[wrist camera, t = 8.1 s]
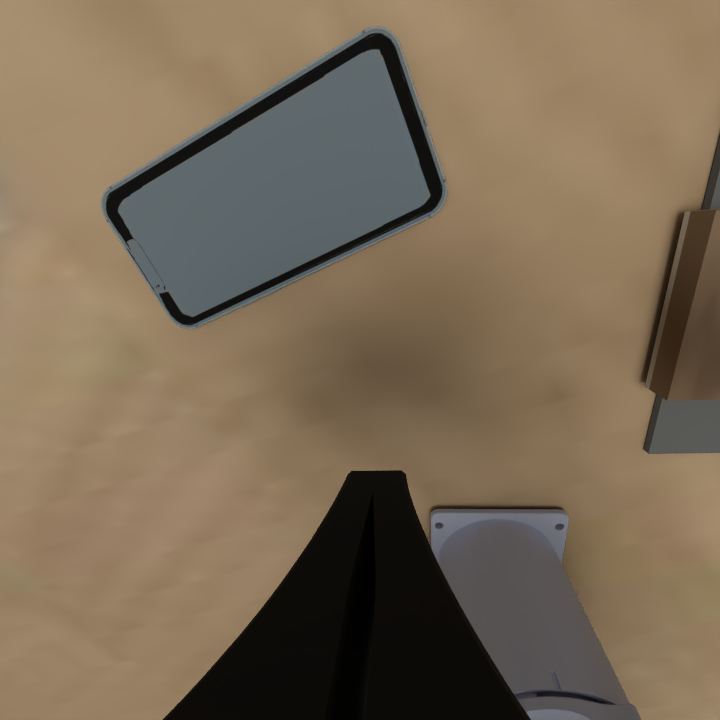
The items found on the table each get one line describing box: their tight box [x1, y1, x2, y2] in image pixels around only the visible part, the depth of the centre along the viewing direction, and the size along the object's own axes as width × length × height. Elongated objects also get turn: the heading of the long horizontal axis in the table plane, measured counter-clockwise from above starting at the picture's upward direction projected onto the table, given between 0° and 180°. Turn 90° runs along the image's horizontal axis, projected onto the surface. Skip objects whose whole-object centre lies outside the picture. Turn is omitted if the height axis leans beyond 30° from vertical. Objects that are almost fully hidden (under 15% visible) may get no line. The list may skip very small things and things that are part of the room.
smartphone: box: [101, 26, 447, 329], centre depth 16 cm, size 7×1×15 cm
